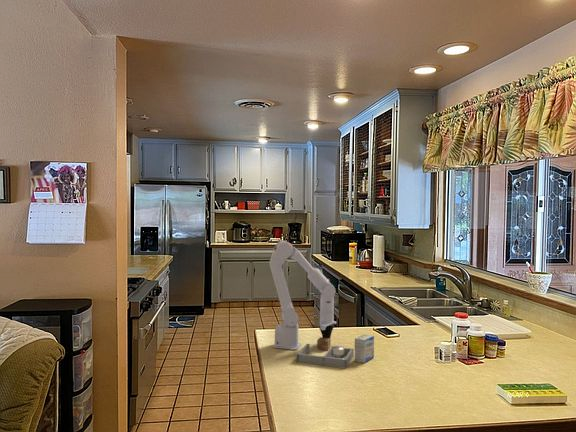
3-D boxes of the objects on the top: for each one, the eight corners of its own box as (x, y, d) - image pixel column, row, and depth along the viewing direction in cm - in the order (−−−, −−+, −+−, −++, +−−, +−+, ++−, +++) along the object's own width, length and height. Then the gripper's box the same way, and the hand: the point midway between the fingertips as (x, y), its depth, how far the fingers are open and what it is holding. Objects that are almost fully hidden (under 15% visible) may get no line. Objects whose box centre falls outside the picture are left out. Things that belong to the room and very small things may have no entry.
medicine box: (364, 363, 170) (364, 340, 170) (354, 360, 173) (354, 338, 173) (374, 358, 176) (374, 335, 176) (363, 355, 179) (364, 333, 179)
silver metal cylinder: (331, 362, 171) (331, 348, 171) (334, 358, 176) (334, 345, 176) (342, 363, 170) (343, 350, 170) (345, 359, 174) (345, 346, 174)
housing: (296, 362, 171) (296, 354, 171) (307, 351, 184) (307, 343, 184) (346, 368, 165) (346, 360, 165) (353, 356, 178) (353, 348, 178)
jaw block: (317, 349, 186) (317, 340, 186) (319, 346, 190) (320, 337, 190) (327, 351, 185) (327, 341, 185) (330, 347, 189) (330, 338, 189)
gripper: (332, 315, 184) (331, 348, 184) (339, 308, 197) (339, 339, 198) (315, 314, 186) (315, 347, 186) (324, 306, 200) (323, 337, 200)
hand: (326, 342), depth 192 cm, fingers closed
